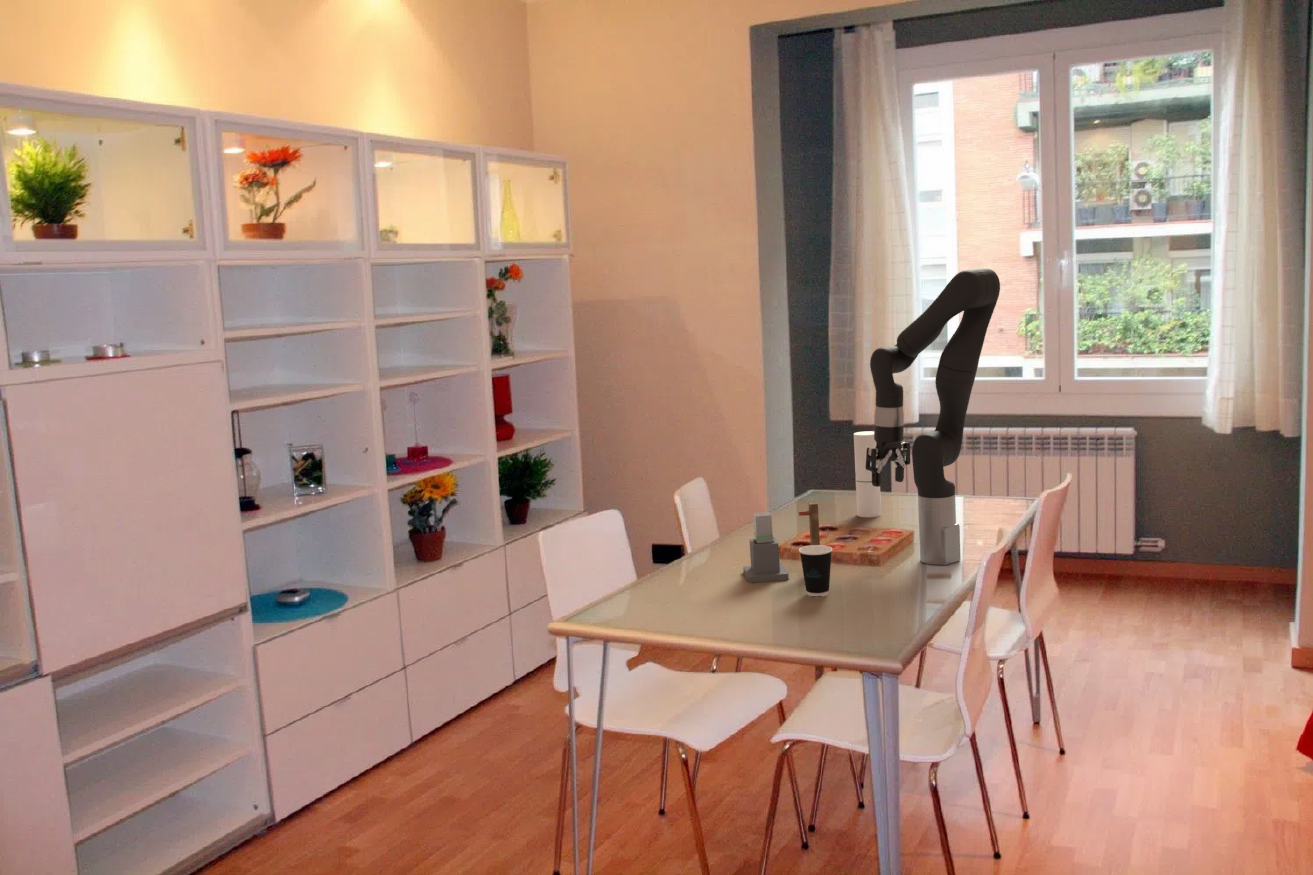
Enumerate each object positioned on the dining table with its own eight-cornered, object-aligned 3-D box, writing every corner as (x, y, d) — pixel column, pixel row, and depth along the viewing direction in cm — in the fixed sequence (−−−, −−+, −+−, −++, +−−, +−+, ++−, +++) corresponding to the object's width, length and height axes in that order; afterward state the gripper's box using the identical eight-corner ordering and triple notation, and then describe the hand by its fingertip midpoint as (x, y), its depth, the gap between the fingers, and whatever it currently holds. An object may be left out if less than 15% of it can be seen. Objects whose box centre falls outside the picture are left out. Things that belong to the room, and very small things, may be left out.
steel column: (772, 565, 292) (769, 511, 290) (774, 569, 288) (771, 515, 286) (755, 566, 292) (752, 512, 290) (758, 570, 288) (755, 516, 286)
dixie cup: (826, 587, 277) (824, 543, 275) (840, 596, 269) (837, 550, 268) (796, 591, 275) (793, 547, 273) (808, 600, 268) (806, 555, 266)
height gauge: (822, 568, 293) (819, 501, 290) (825, 573, 289) (822, 504, 286) (800, 570, 293) (797, 502, 290) (803, 574, 289) (800, 506, 286)
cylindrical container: (879, 511, 351) (876, 430, 347) (882, 516, 344) (878, 434, 340) (856, 512, 352) (852, 432, 348) (858, 517, 345) (854, 435, 341)
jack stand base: (782, 568, 296) (780, 534, 294) (788, 579, 286) (786, 544, 284) (743, 572, 295) (741, 538, 294) (748, 582, 285) (746, 547, 284)
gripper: (880, 428, 291) (879, 490, 294) (918, 421, 299) (917, 482, 302) (858, 424, 297) (858, 485, 300) (897, 418, 305) (896, 477, 309)
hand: (887, 483), depth 301 cm, fingers open, 8 cm apart
